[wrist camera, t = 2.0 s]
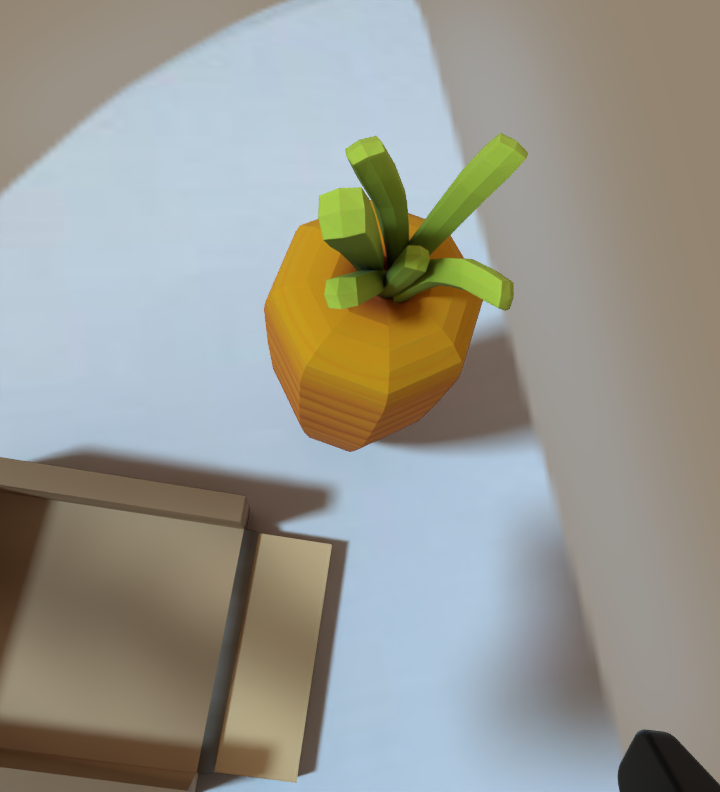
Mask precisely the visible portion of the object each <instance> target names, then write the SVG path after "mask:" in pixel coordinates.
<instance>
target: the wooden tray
mask: <svg viewBox="0 0 720 792" xmlns="http://www.w3.org/2000/svg"><path fill="white" fill-rule="evenodd" d="M249 512H250V509H249V506H248V502H247V499H246V496H243V495H237V494H230V493H224V492H218V491H211V490H205V489H199V488H192V487H186V486H180V485H173V484H167V483H161V482H154V481H148V480H142V479H135V478H129V477H123V476H116V475H110V474H104V473H97V472H91V471H85V470H78V469H72V468H65V467H59V466H53V465H46V464H40V463H34V462H27V461H21V460H15V459H8V458H2V457H0V792H195V791H196V786H197V780H198V775H199V773H201V774H208V773H213V772H218V773H226V774H233V775H241V776H249V777H257V778H264V779H272V780H280V781H287V782H295V783H296V782H297V775H298V768H299V762H300V755H301V748H302V742H303V735H304V728H305V722H306V715H307V708H308V702H309V695H310V688H311V682H312V675H313V668H314V662H315V655H316V648H317V642H318V635H319V628H320V621H321V615H322V608H323V601H324V595H325V588H326V581H327V575H328V568H329V561H330V555H331V548H332V544H326V543H320V542H313V541H307V540H300V539H294V538H287V537H281V536H275V535H268V534H262V533H258V532H254V531H250V530H246V527H247V522H248V517H249Z"/></svg>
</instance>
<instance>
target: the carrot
mask: <svg viewBox="0 0 720 792" xmlns="http://www.w3.org/2000/svg"><path fill="white" fill-rule="evenodd" d="M345 150H346V156H347V158H348V160H349V162H350V164H351V166H352V168H353V170H354V172H355V174H356V176H357V178H358V179H359V181H360V182H361V184H362V186H363V187H364V189H365V190H366V192H367V193H368V195H369V197H370V198H371V200H369V198H368V197H367V195H366V194H365V192H364V191H363V189H362V188H338V189H336V190H333V191H330V192H328V193H325V194H323V195H320V196H319V213H318V218H319V219H317V220H314V221H311V222H309V223H306V224H303V225H300V226H299V228H298V229H297V231H296V232H295V235H294V237H293V239H292V242H291V244H290V246H289V249H288V251H287V253H286V256H285V258H284V260H283V262H282V265H281V267H280V269H279V272H278V274H277V276H276V279H275V281H274V283H273V286H272V288H271V290H270V292H269V295H268V297H267V299H266V302H265V308H264V312H265V321H266V330H267V338H268V345H269V350H270V355H271V360H272V365H273V369H274V371H275V373H276V375H277V377H278V380H279V382H280V384H281V386H282V388H283V390H284V392H285V394H286V396H287V398H288V400H289V402H290V405H291V407H292V409H293V411H294V413H295V415H296V417H297V419H298V421H299V423H300V425H301V427H302V429H303V431H304V432H305V433H306V434H307V435H308V436H309V437H310V438H313V439H315V440H318V441H321V442H324V443H327V444H329V445H332V446H335V447H338V448H341V449H343V450H346V451H349V452H351V451H355V450H358V449H360V448H362V447H364V446H366V445H368V444H371V443H373V442H375V441H377V440H379V439H381V438H384V437H386V436H388V435H390V434H392V433H394V432H397V431H399V430H401V429H403V428H405V427H407V426H409V425H411V424H413V423H415V422H417V421H419V420H420V419H421V418H422V417H423V416H424V415H425V414H426V413H427V412H428V411H429V410H430V409H431V408H432V407H433V406H434V405H435V404H436V403H437V402H438V401H439V400H440V399H441V398H442V397H443V396H444V394H445V393H446V392H447V391H448V390H449V389H450V388H451V386H452V385H453V384H454V383H455V382H456V381H457V380H458V378H459V376H460V373H461V371H462V368H463V364H464V361H465V358H466V355H467V351H468V348H469V345H470V341H471V338H472V335H473V331H474V328H475V325H476V321H477V318H478V315H479V311H480V308H481V305H482V302H483V300H484V301H486V302H488V303H490V304H492V305H494V306H495V307H497V308H500V309H502V310H505V311H506V310H508V309H510V306H511V303H512V300H513V282H512V281H510V280H509V279H507V278H505V277H504V276H503V275H501V274H500V273H498V272H497V271H495V270H493V269H492V268H489V267H487V266H485V265H483V264H481V263H479V262H477V261H475V260H473V259H464V258H463V256H462V254H461V252H460V251H459V249H458V247H457V246H456V244H455V242H454V241H453V239H452V237H451V234H452V233H453V232H454V231H455V229H456V228H457V227H458V226H459V225H460V224H461V223H462V222H463V221H464V220H465V219H466V218H467V217H468V216H469V215H470V214H471V213H472V212H473V211H474V210H475V209H476V208H477V207H478V206H479V205H480V204H481V203H482V202H483V201H484V200H485V199H486V198H487V197H489V196H490V195H491V194H492V193H493V192H494V191H495V190H496V189H497V188H498V187H499V186H500V185H501V184H502V183H503V182H504V181H505V180H506V179H507V178H509V176H510V175H511V174H512V173H513V172H514V171H515V170H516V169H517V168H518V167H519V166H520V165H521V164H522V162H523V161H524V160H525V159H526V157H527V155H528V153H527V151H526V150H525V149H524V148H523V147H522V146H521V145H520V144H519V143H518V142H517V141H515V140H514V139H512V138H510V137H508V136H506V135H503V134H501V133H500V134H498V135H497V136H496V137H495V138H494V139H493V140H491V141H490V142H489V143H488V144H487V145H485V147H483V148H482V150H481V151H480V152H479V153H478V154H477V155H476V156H475V157H474V158H473V159H472V160H471V161H470V163H469V164H468V165H467V166H466V167H465V168H464V169H463V170H462V172H461V173H460V174H459V175H458V177H457V178H456V179H455V181H454V182H453V183H452V185H451V186H450V187H449V188H448V190H447V191H446V192H445V194H444V195H443V196H442V198H441V199H440V200H439V202H438V203H437V204H436V206H435V207H434V208H433V210H432V211H431V212H430V214H429V215H428V216H427V218H426V219H423V218H420V217H418V216H415V215H412V214H409V213H408V209H407V200H406V194H405V190H404V187H403V184H402V182H401V179H400V177H399V174H398V171H397V169H396V166H395V164H394V162H393V160H392V159H391V157H390V155H389V154H388V152H387V150H386V148H385V147H384V145H383V143H382V142H381V140H380V139H379V138H378V137H377V136H374V137H370V138H365V139H361V140H358V141H357V142H355V143H354V144H352V145H351V146H349V147H348V148H346V149H345Z"/></svg>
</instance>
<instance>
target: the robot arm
mask: <svg viewBox="0 0 720 792" xmlns="http://www.w3.org/2000/svg"><path fill="white" fill-rule="evenodd" d="M618 785H619V791H620V792H720V785H719V784H718V782H717V781H716V780H715V779H714V778H713V777H712V776H711V775H710V774H709V773H708V772H707V771H706V770H705V769H704V768H703V766H702V765H700V763H699V762H698V761H697V760H696V759H695V758H694V757H693V756H692V755H691V754H690V753H689V752H688V751H687V750H686V748H685V747H684V746H683V745H682V744H681V743H680V742H679V741H678V740H677V739H676V738H675V737H674V736H672V735H671V734H669V733H666V732H661V731H652V730H641V731H639V732H637V734H636V735H635V737H634V739H633V741H632V742H631V744H630V746H629V748H628V750H627V752H626V754H625V756H624V757H623V759H622V761H621V763H620V766H619V770H618Z"/></svg>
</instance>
